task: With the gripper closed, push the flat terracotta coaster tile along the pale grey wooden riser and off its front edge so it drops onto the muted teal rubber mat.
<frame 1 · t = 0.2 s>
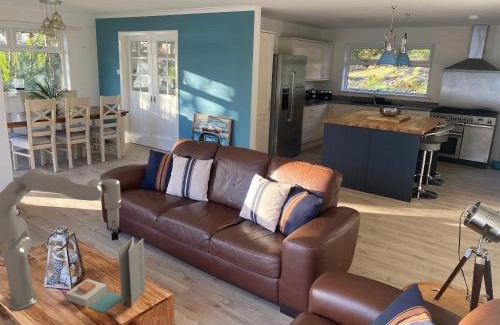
hand: (115, 235, 191), 31 cm above the table, tool pointing down, fingers open, 9 cm apart
mat: (106, 302, 187), on the table
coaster: (86, 288, 191), point 4 cm above the table, touching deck
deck: (87, 295, 192), on the table
brochure: (134, 297, 192), on the table
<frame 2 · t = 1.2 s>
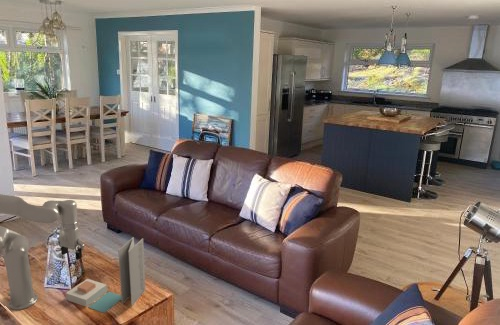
hand: (71, 256, 190), 20 cm above the table, tool pointing down, fingers open, 9 cm apart
nothing on the table moved.
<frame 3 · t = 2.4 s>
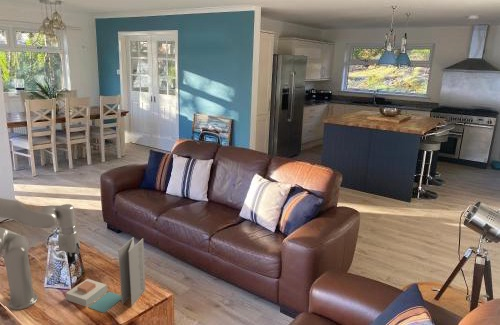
hand: (71, 262, 191), 17 cm above the table, tool pointing down, fingers closed
nothing on the table moved.
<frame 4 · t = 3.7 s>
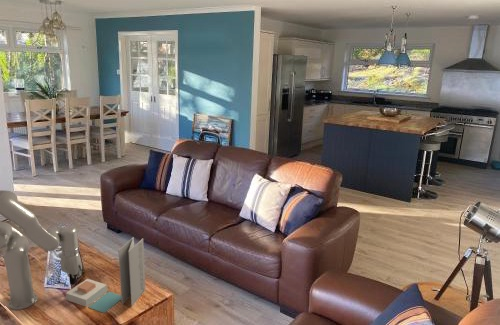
hand: (73, 283, 194), 5 cm above the table, tool pointing down, fingers closed
nothing on the table moved.
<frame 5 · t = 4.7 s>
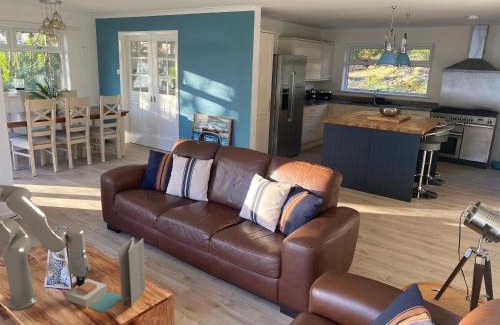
hand: (81, 285, 192), 5 cm above the table, tool pointing down, fingers closed
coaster: (87, 289, 190), point 4 cm above the table, touching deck, gripper
everything else where it was.
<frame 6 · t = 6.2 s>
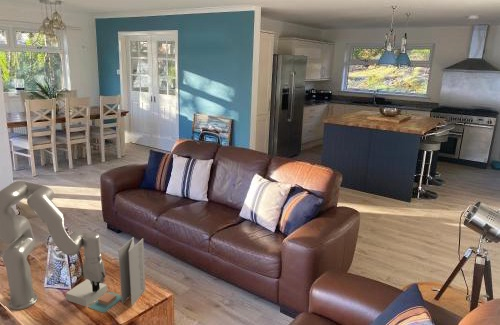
hand: (96, 290, 188), 5 cm above the table, tool pointing down, fingers closed
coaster: (107, 297, 188), point 2 cm above the table, tilted 180°, touching mat
everything else where it was.
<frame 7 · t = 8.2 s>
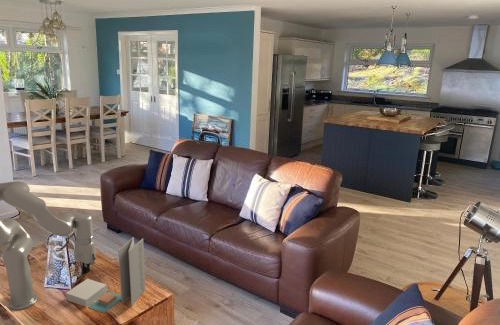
hand: (86, 272, 188), 13 cm above the table, tool pointing down, fingers closed
nothing on the table moved.
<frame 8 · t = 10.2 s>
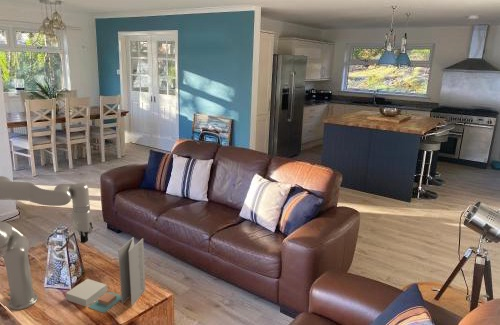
hand: (84, 241, 191), 27 cm above the table, tool pointing down, fingers closed
nothing on the table moved.
at the end: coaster inside the target area (0.8 cm from its centre), point 2.3 cm above the table; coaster touching mat; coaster moved 12.5 cm from its start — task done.
